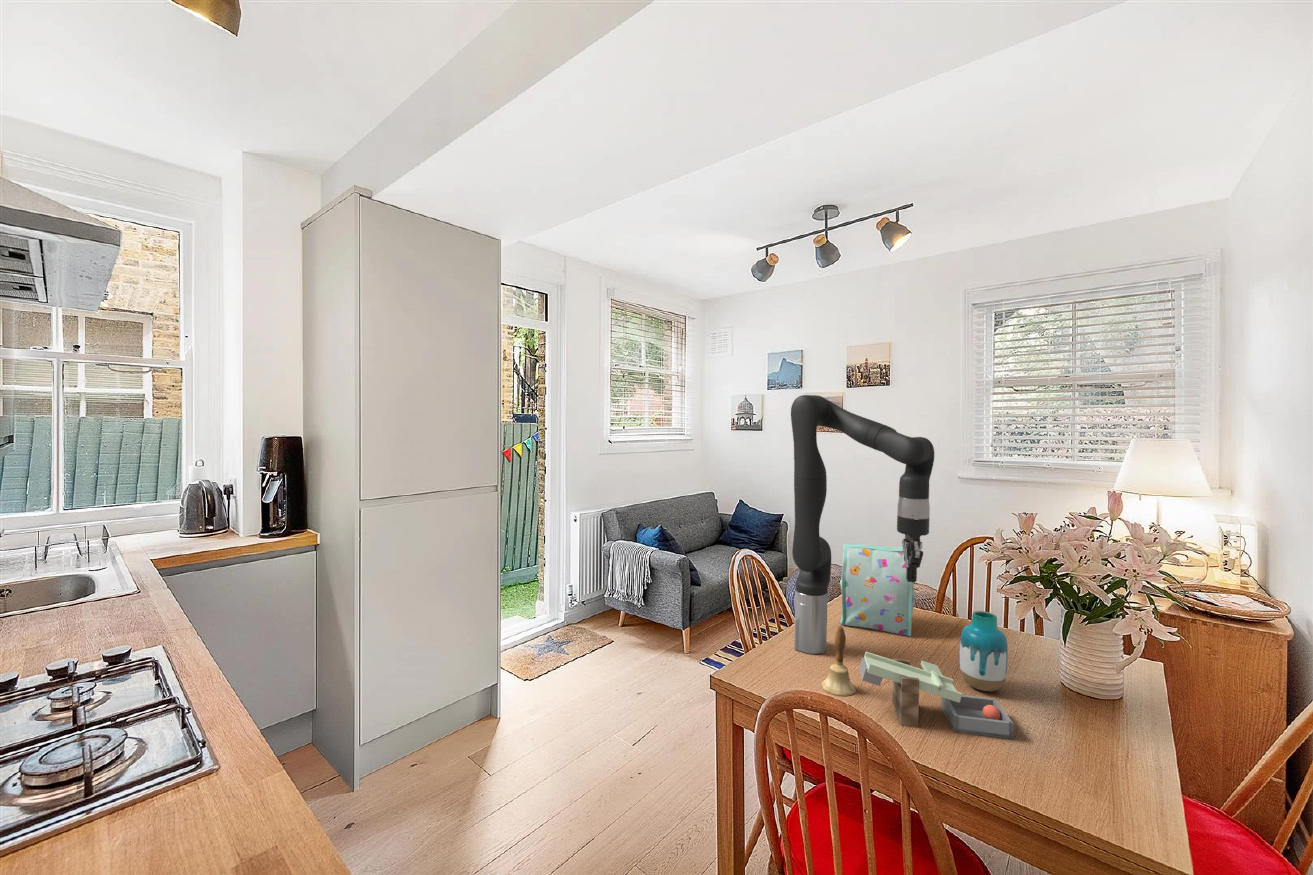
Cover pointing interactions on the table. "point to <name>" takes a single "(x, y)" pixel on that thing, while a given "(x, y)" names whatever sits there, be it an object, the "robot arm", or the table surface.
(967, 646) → the vase
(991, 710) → the ball
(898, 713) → the fulcrum
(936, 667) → the lever
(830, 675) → the hand bell
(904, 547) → the robot arm
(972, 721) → the tray
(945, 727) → the table surface
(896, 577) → the lunch bag
